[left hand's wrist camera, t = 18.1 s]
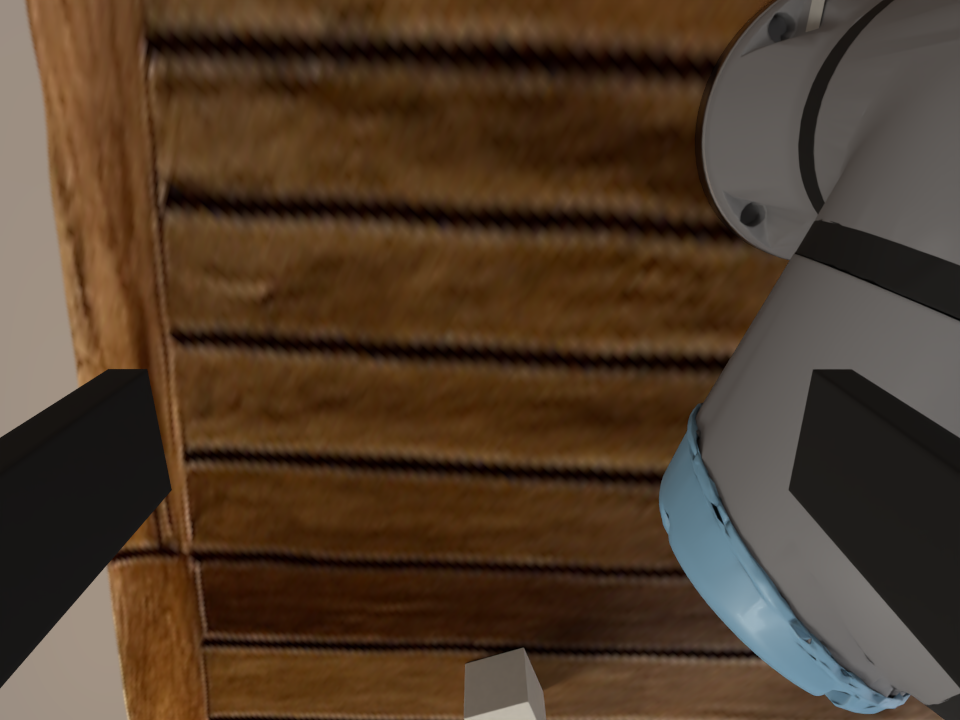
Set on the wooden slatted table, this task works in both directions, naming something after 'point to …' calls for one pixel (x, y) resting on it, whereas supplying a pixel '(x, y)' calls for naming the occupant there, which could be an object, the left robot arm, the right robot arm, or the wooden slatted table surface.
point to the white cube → (503, 689)
